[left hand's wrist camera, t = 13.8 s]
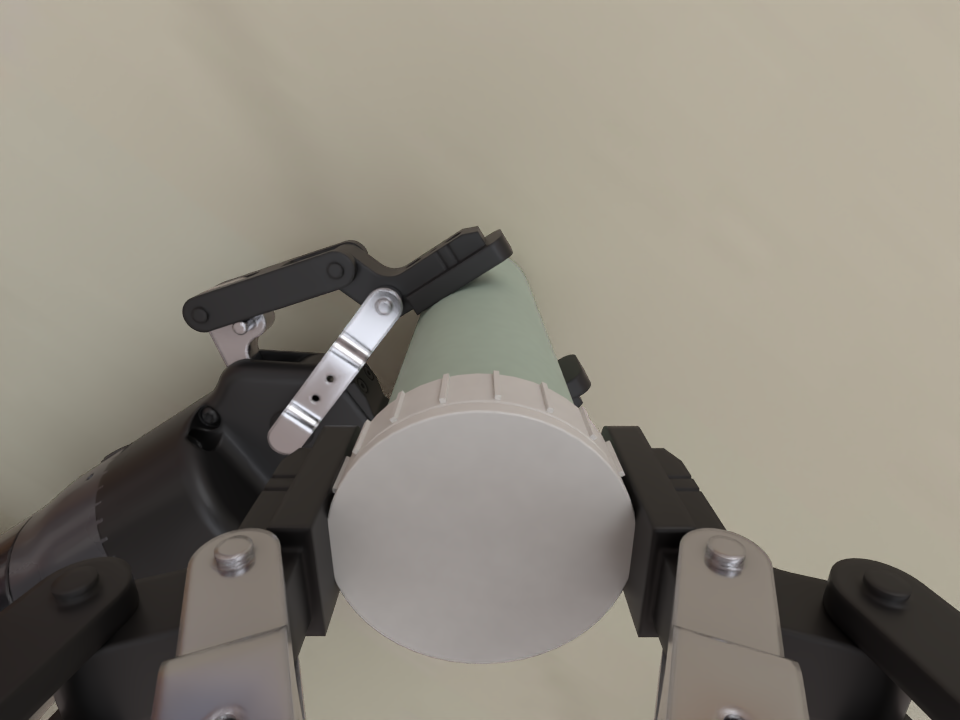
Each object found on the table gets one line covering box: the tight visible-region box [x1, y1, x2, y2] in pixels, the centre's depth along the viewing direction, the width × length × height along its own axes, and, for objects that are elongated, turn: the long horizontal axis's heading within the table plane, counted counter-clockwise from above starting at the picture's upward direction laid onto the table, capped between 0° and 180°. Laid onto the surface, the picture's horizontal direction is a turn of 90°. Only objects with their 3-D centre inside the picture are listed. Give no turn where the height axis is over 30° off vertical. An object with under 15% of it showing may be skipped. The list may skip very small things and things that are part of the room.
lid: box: [328, 370, 635, 664], centre depth 10 cm, size 6×6×2 cm
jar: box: [388, 258, 574, 404], centre depth 18 cm, size 5×5×17 cm
